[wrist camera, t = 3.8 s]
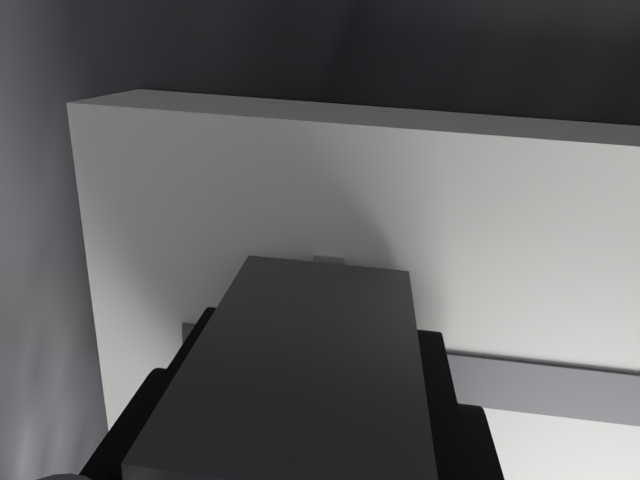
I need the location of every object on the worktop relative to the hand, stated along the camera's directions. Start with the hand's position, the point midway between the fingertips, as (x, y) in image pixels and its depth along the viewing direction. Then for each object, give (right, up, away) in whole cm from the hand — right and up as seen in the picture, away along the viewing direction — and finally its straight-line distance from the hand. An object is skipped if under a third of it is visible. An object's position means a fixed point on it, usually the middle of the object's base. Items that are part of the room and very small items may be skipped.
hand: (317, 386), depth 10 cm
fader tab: (0, 0, 0) cm, 0 cm away
